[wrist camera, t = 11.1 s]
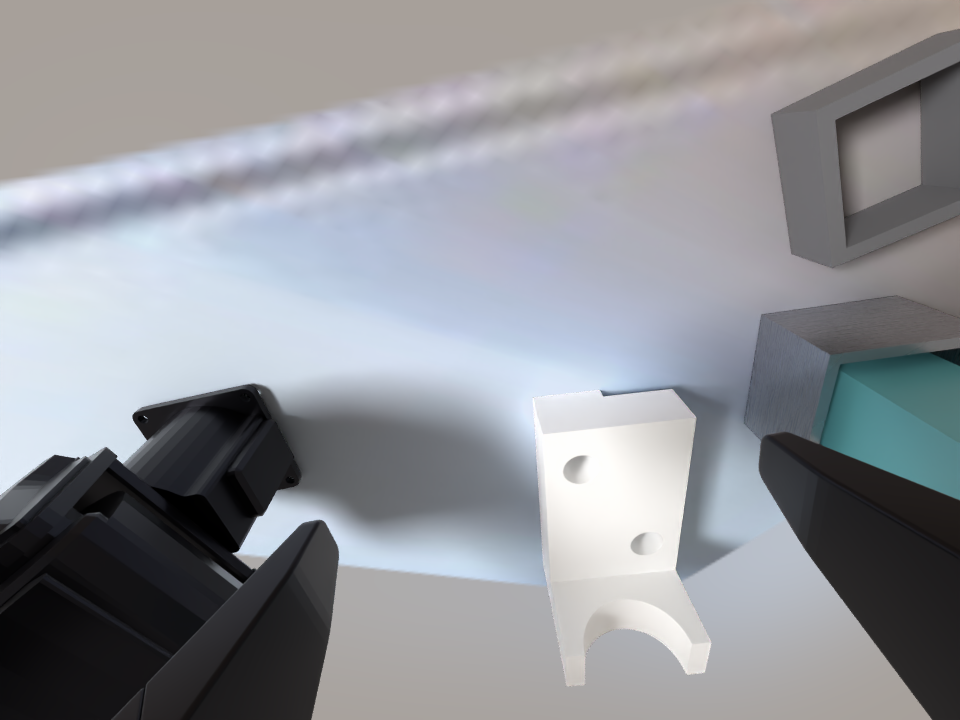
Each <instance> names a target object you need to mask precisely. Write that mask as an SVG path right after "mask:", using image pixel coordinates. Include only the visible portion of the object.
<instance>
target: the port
mask: <svg viewBox="0 0 960 720" xmlns="http://www.w3.org/2000/svg"><path fill="white" fill-rule="evenodd" d="M926 352H929V353H932V354H934V355H936V356H938V357H940V358H943V359H945V360H947V361H949V362H951V363H954V364H956V365H958V366H960V318H958V317H955V316H952V315H949V314H946V313H944V312H941V311H938V310H935V309H933V308H930V307H927V306H924V305H921V304H919V303H916V302H913V301H910V300H908V299H905V298H902V297H899V296H891V297H884V298H877V299H870V300H863V301H856V302H848V303H841V304H834V305H827V306H820V307H813V308H806V309H799V310H792V311H784V312H777V313H770V314H763V315H761V322H760V328H759V334H758V340H757V347H756V353H755V359H754V365H753V371H752V378H751V384H750V390H749V396H748V402H747V409H746V415H745V421H744V424H745V425H746V426H747V427H748V428H749V429H750V430H751V431H752V432H753V433H754V434H755V435H756V436H757V437H758V438H759V439H760V440H761V439H762V437H763V436H764V435H766V434H771V433H777V432H783V431H785V432H789V433H792V434H795V435H797V436H800V437H802V438H805V439H807V440H810V441H812V442H815V443H817V444H820V439H821V435H822V432H823V428H824V424H825V420H826V416H827V413H828V409H829V405H830V401H831V397H832V393H833V390H834V386H835V382H836V378H837V374H838V370H839V367H840V364H846V363H853V362H861V361H868V360H875V359H882V358H890V357H897V356H904V355H912V354H919V353H926ZM820 445H821V444H820ZM822 446H823V445H822Z"/></svg>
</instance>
